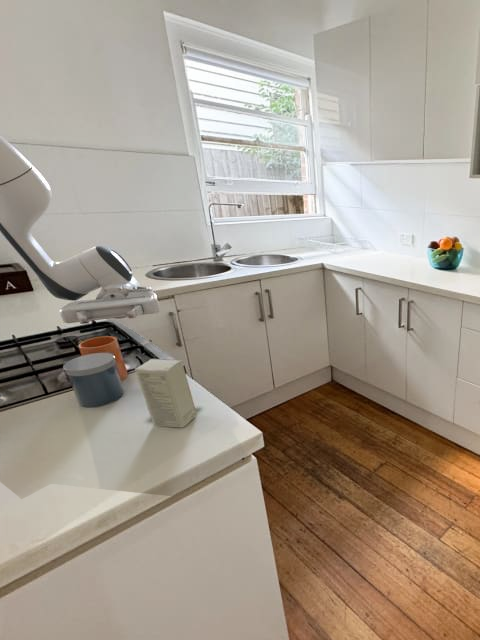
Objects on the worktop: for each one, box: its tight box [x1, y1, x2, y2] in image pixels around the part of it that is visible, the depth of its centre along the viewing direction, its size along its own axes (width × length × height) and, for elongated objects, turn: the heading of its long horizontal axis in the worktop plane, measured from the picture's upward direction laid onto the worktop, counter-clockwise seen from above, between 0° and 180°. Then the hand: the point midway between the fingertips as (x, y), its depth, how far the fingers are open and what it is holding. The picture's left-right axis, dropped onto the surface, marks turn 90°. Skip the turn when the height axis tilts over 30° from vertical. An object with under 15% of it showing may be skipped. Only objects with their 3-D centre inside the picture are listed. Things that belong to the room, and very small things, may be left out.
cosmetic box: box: [134, 358, 198, 428], centre depth 70 cm, size 6×4×12 cm
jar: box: [62, 353, 125, 408], centre depth 77 cm, size 8×8×8 cm
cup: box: [78, 335, 129, 381], centre depth 85 cm, size 7×7×9 cm
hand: (107, 317), depth 92 cm, fingers open, 8 cm apart
